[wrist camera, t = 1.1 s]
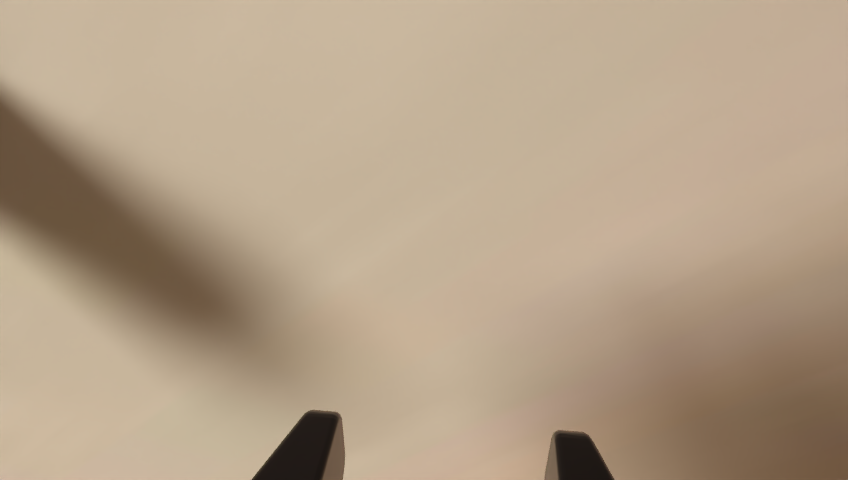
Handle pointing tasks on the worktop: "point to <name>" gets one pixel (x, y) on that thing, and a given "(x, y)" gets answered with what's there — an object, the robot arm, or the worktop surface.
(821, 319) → the worktop surface
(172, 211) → the worktop surface
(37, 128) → the worktop surface
